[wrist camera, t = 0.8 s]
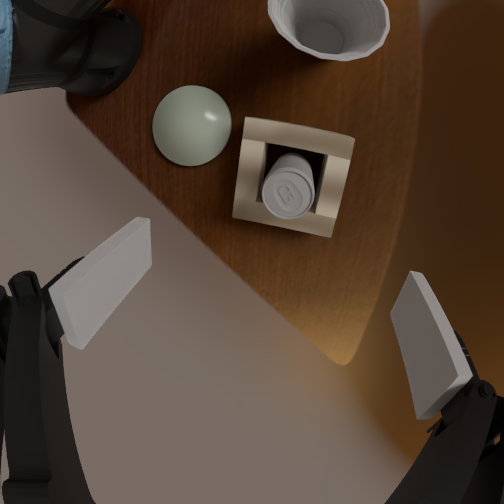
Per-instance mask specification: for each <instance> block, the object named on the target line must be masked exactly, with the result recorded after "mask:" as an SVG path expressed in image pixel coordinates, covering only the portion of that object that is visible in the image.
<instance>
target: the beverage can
mask: <svg viewBox="0 0 504 504" xmlns="http://www.w3.org/2000/svg"><path fill="white" fill-rule="evenodd" d="M314 195H315V191H314V183H313V176H312V169H311V165H310V163H309V161H308V160H307V159H306V158H305V157H303V156H302V155H300V154H297V153H293V152H291V153H286V154H283V155H282V156H280V157H279V158H278V160H277V161H276V162H275V164H274V165H273V167H272V169H271V170H270V172H269V173H268V175H267V177H266V178H265V180H264V183H263V185H262V199H263V202H264V205H265V207H266V208H267V209H268V211H269V212H270V213H272V214H273V215H274V216H276V217H279V218H281V219H295V218H298V217H301V216H302V215H304V214H305V213H306V212H307V211H308V210H309V209H310V207H311V205H312V203H313V201H314Z"/></svg>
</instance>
